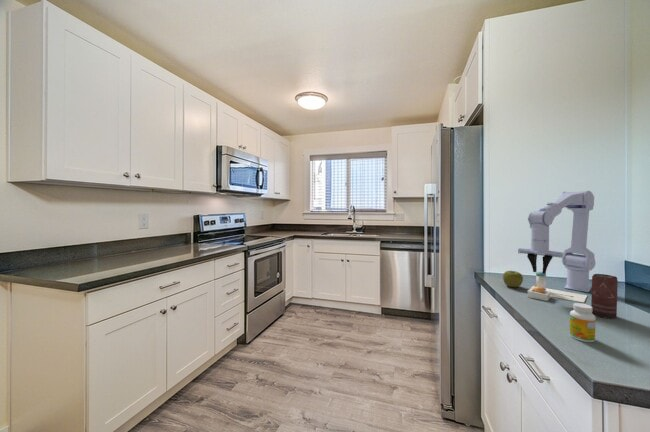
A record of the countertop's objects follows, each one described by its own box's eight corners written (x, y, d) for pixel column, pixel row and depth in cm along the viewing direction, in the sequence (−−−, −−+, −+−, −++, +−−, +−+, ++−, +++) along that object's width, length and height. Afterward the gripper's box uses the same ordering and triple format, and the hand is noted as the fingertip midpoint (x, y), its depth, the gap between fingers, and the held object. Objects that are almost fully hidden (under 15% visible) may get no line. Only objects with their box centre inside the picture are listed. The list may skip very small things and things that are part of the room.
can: (622, 319, 88) (624, 278, 88) (600, 318, 89) (601, 277, 89) (607, 312, 94) (608, 273, 93) (586, 311, 95) (587, 273, 95)
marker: (537, 289, 119) (536, 271, 119) (546, 290, 116) (546, 272, 116) (535, 290, 117) (535, 272, 117) (545, 292, 114) (544, 274, 114)
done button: (534, 291, 113) (534, 285, 112) (545, 293, 110) (545, 287, 110) (532, 293, 110) (532, 287, 110) (543, 295, 108) (543, 289, 107)
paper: (533, 286, 124) (533, 285, 124) (587, 296, 110) (587, 295, 110) (526, 291, 117) (526, 291, 117) (583, 303, 103) (583, 302, 103)
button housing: (531, 293, 115) (531, 287, 115) (550, 297, 110) (550, 291, 110) (527, 297, 111) (527, 291, 110) (547, 301, 106) (547, 294, 106)
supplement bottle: (564, 334, 80) (565, 302, 79) (580, 332, 80) (581, 301, 80) (583, 343, 74) (584, 309, 74) (600, 342, 75) (601, 308, 74)
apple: (507, 289, 121) (507, 273, 121) (499, 283, 129) (499, 269, 128) (526, 289, 119) (526, 274, 119) (517, 284, 127) (517, 269, 127)
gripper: (516, 239, 112) (515, 271, 113) (561, 242, 101) (560, 277, 102) (520, 237, 117) (520, 268, 117) (564, 240, 105) (564, 274, 106)
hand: (539, 272), depth 110 cm, fingers closed
